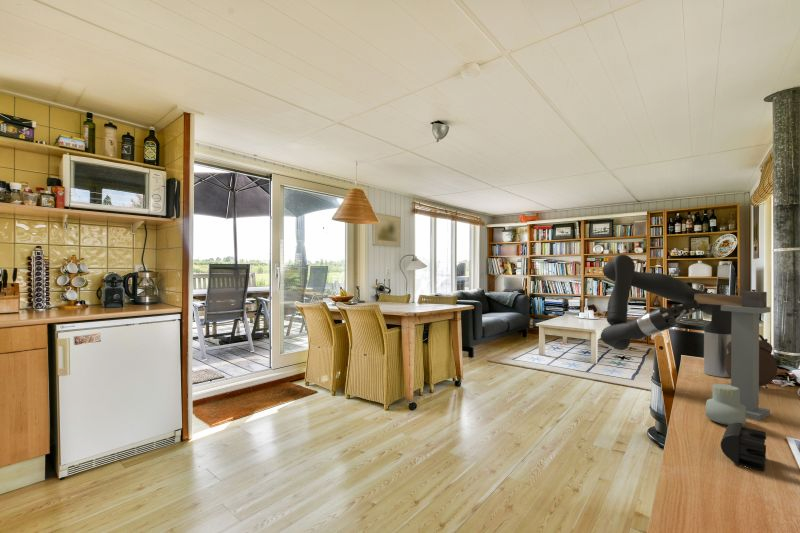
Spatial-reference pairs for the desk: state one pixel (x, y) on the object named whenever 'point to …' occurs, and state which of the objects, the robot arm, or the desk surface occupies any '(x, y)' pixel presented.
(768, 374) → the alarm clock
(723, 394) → the air freshener
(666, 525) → the desk surface
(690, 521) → the desk surface
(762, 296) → the mallet
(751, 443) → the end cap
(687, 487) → the desk surface
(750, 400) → the stand
